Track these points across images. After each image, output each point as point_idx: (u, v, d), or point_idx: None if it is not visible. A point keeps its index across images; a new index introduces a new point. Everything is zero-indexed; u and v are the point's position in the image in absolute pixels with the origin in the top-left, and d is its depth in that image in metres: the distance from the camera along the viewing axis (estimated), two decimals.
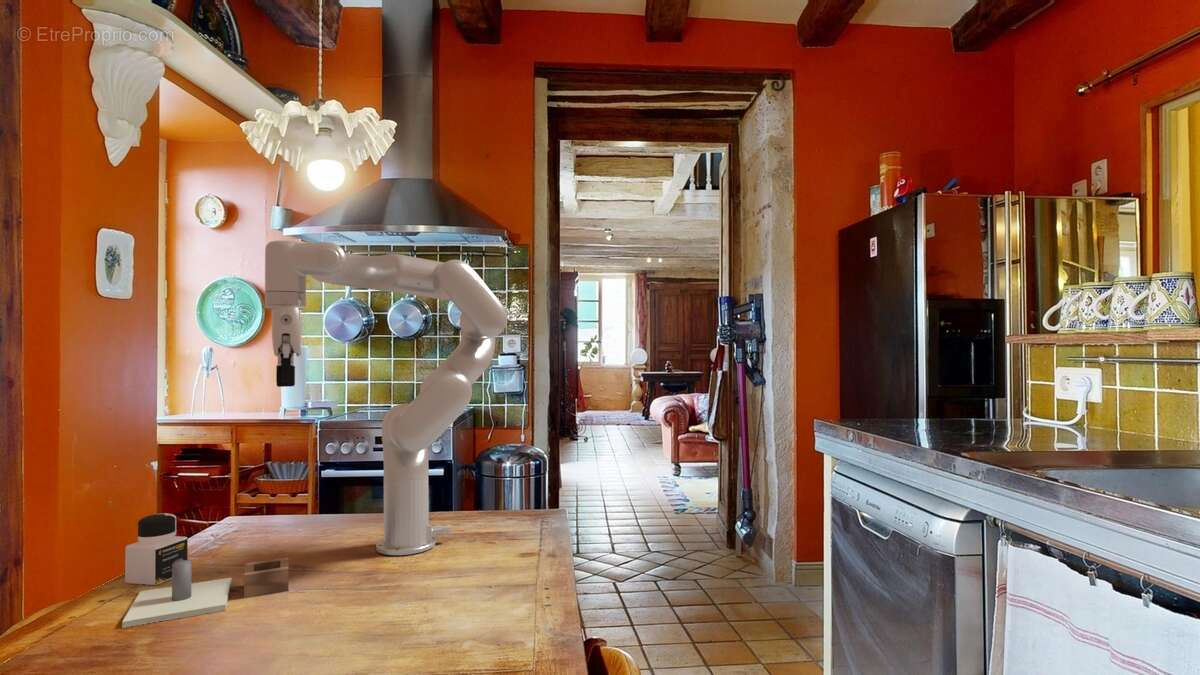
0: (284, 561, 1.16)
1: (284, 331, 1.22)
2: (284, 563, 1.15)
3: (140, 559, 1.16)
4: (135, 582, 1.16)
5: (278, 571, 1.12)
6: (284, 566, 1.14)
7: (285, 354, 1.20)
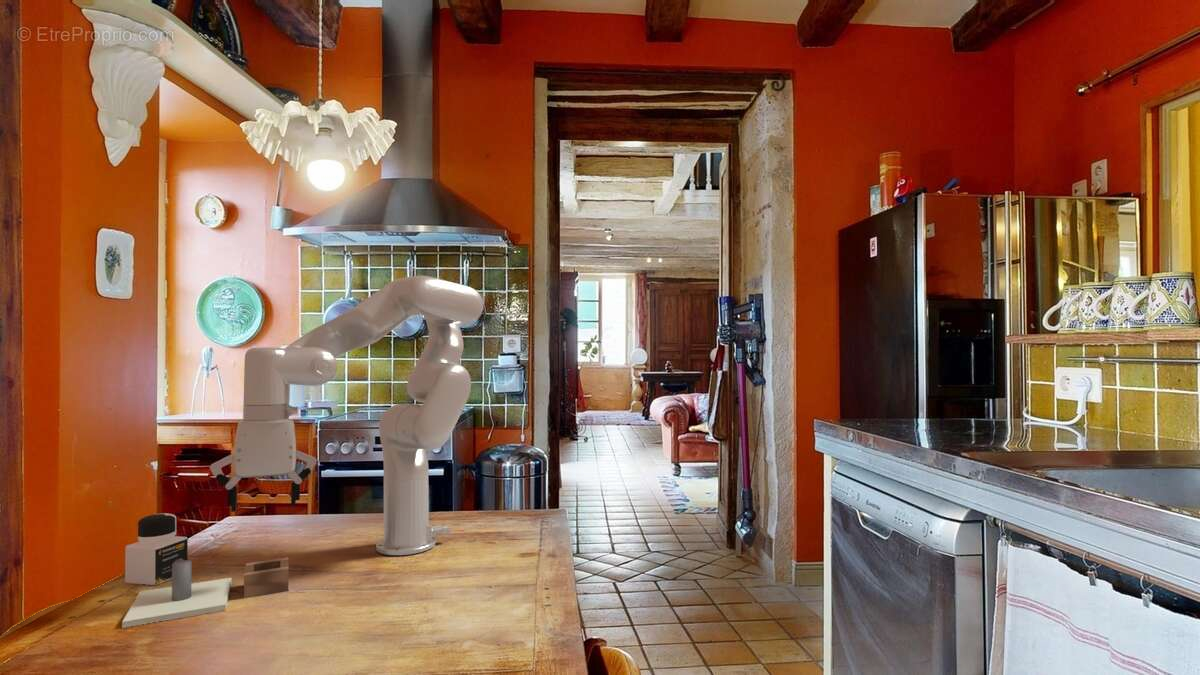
0: (284, 561, 1.16)
1: (295, 446, 1.16)
2: (284, 563, 1.15)
3: (140, 559, 1.16)
4: (135, 582, 1.16)
5: (278, 571, 1.12)
6: (284, 566, 1.14)
7: (311, 469, 1.17)
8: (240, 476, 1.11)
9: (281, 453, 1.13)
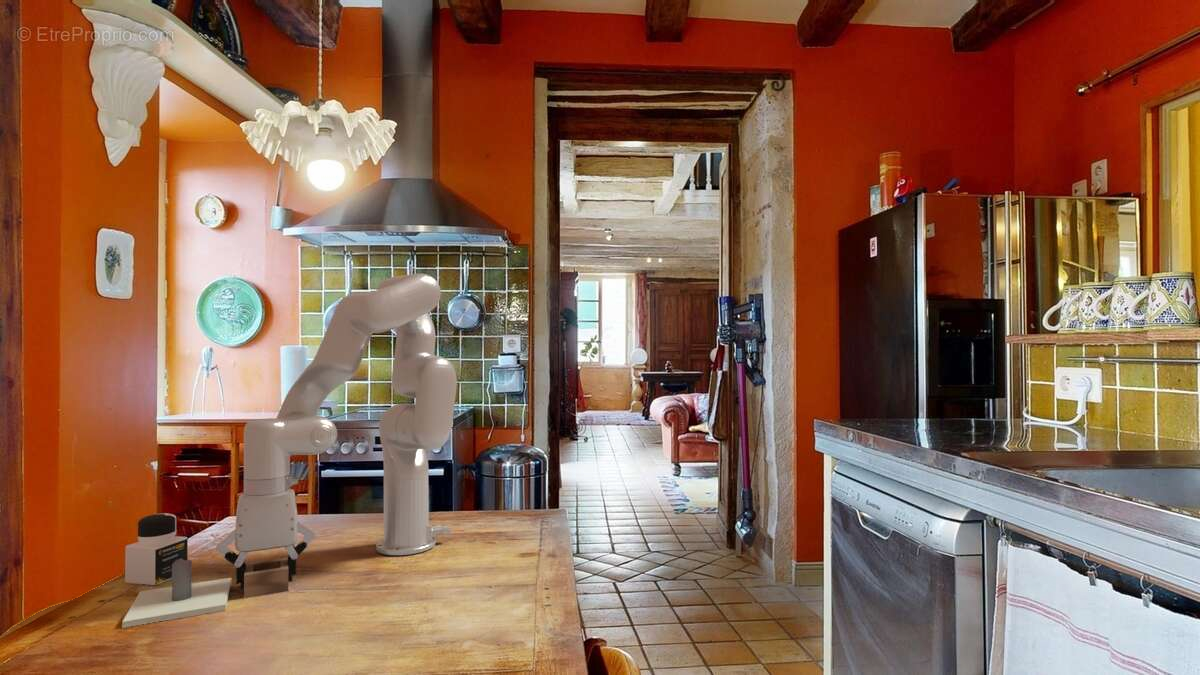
0: (284, 561, 1.16)
1: None
2: (284, 563, 1.15)
3: (139, 559, 1.16)
4: (135, 582, 1.16)
5: (278, 571, 1.12)
6: (284, 566, 1.14)
7: None
8: (242, 551, 1.11)
9: (283, 526, 1.13)
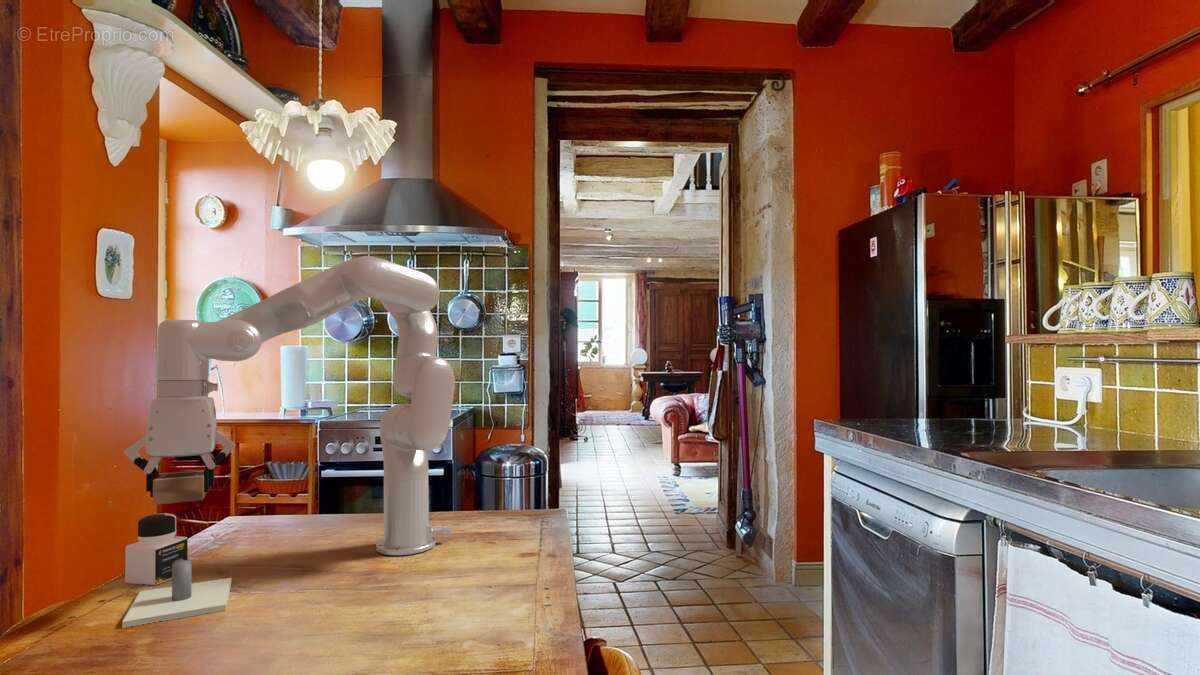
0: (201, 472, 1.10)
1: (216, 427, 1.10)
2: (200, 473, 1.09)
3: (139, 559, 1.16)
4: (135, 582, 1.16)
5: (191, 479, 1.05)
6: (199, 475, 1.07)
7: (227, 454, 1.10)
8: (153, 456, 1.04)
9: (198, 432, 1.07)
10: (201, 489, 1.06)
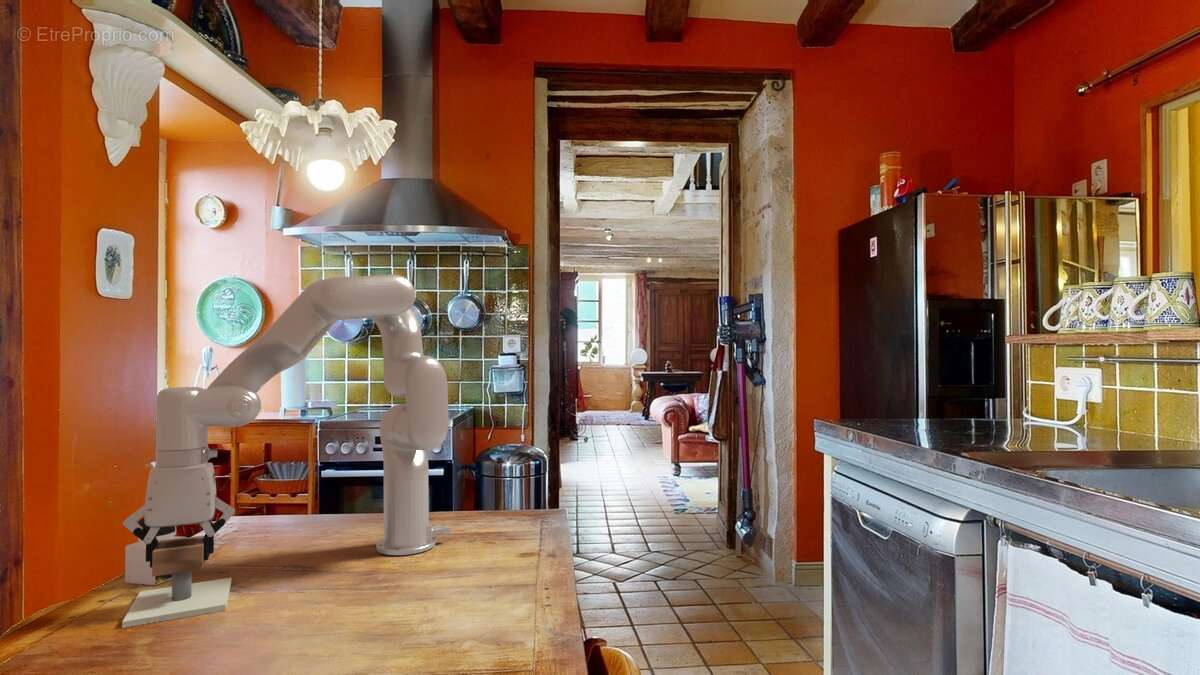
0: (201, 539, 1.09)
1: (215, 493, 1.09)
2: (200, 541, 1.08)
3: (139, 559, 1.16)
4: (135, 582, 1.16)
5: (191, 548, 1.05)
6: (198, 543, 1.07)
7: (227, 520, 1.10)
8: (152, 526, 1.04)
9: (197, 500, 1.06)
10: (201, 558, 1.05)
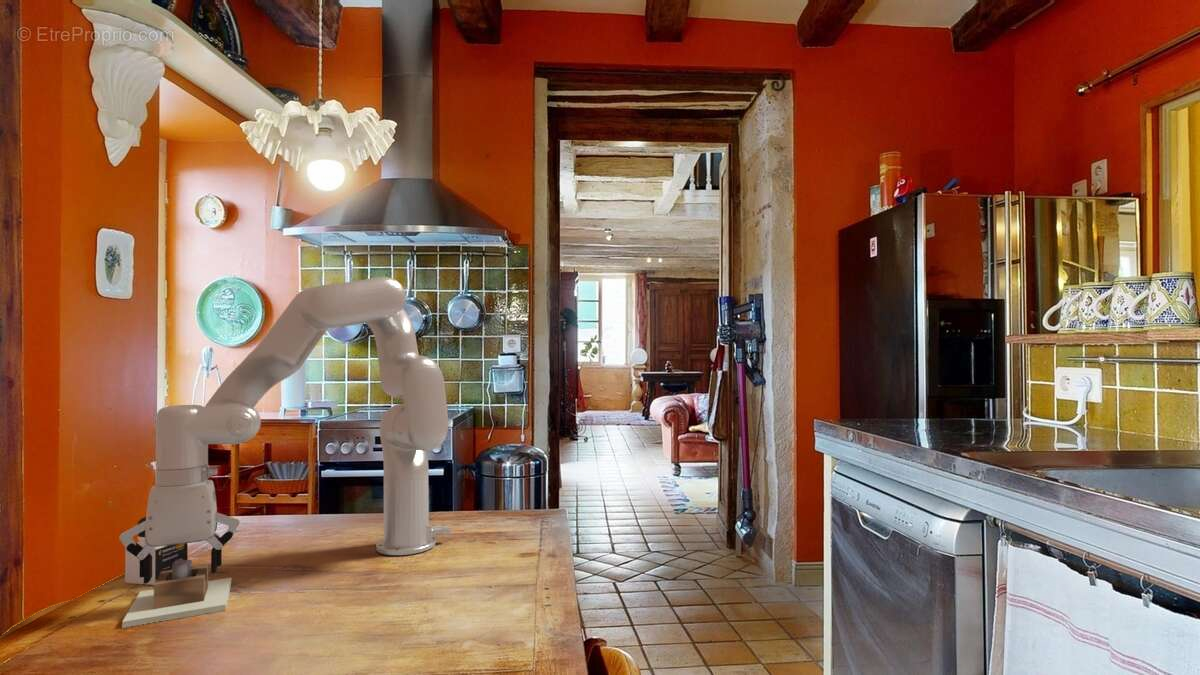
0: (202, 569, 1.10)
1: (215, 509, 1.09)
2: (201, 571, 1.08)
3: None
4: (135, 582, 1.16)
5: (192, 580, 1.05)
6: (200, 574, 1.07)
7: (234, 532, 1.11)
8: (153, 545, 1.04)
9: (198, 518, 1.06)
10: (202, 590, 1.05)
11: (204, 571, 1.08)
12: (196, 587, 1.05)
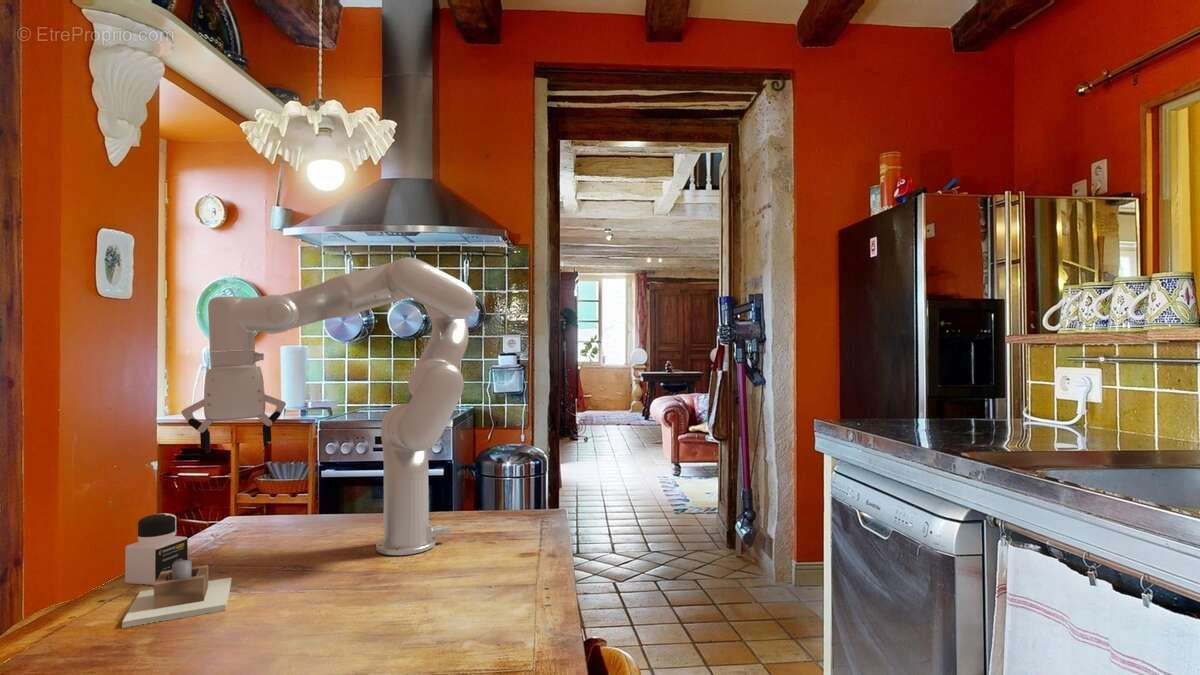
0: (202, 569, 1.10)
1: None
2: (201, 571, 1.08)
3: (139, 559, 1.16)
4: (135, 582, 1.16)
5: (192, 580, 1.05)
6: (200, 574, 1.07)
7: (281, 412, 1.23)
8: (211, 419, 1.16)
9: (250, 397, 1.18)
10: (202, 590, 1.05)
11: (204, 571, 1.08)
12: (196, 587, 1.05)
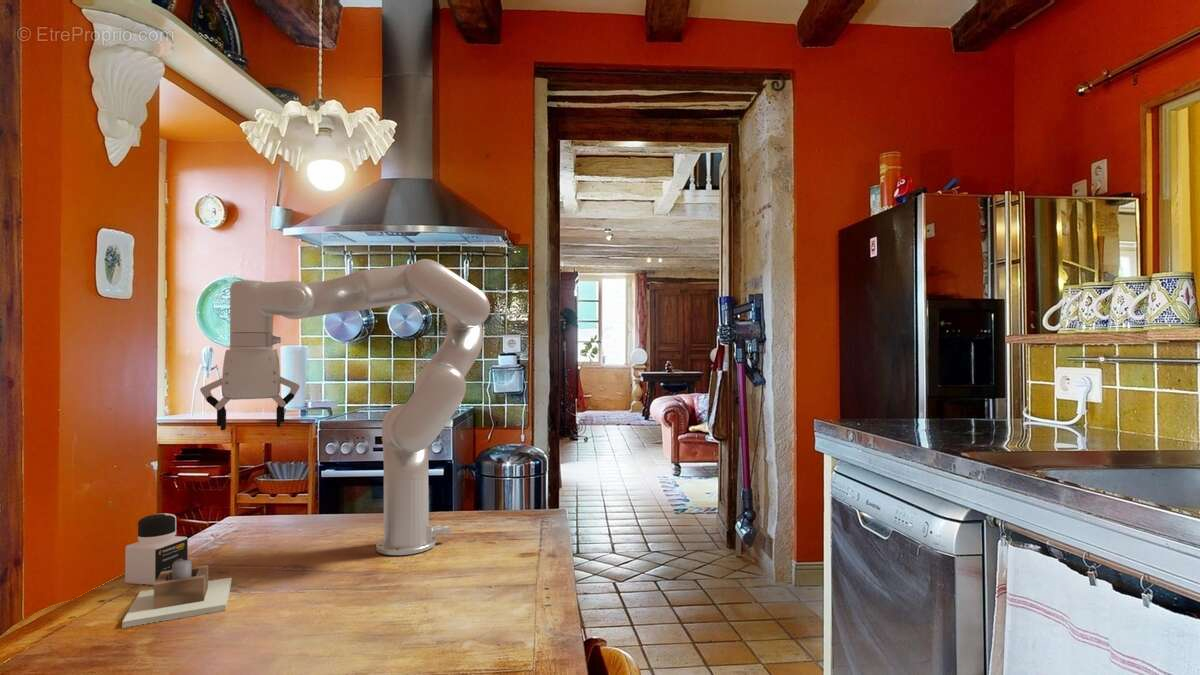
0: (202, 569, 1.10)
1: (279, 373, 1.26)
2: (201, 571, 1.08)
3: (140, 559, 1.16)
4: (135, 582, 1.16)
5: (192, 580, 1.05)
6: (200, 574, 1.07)
7: None
8: (228, 398, 1.20)
9: (266, 378, 1.23)
10: (202, 590, 1.05)
11: (204, 571, 1.08)
12: (196, 587, 1.05)
